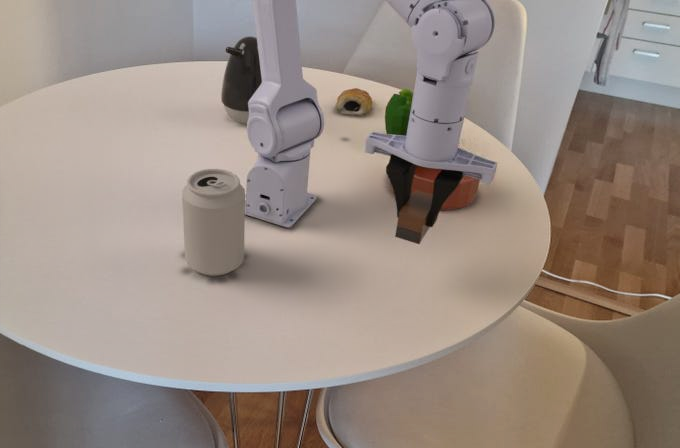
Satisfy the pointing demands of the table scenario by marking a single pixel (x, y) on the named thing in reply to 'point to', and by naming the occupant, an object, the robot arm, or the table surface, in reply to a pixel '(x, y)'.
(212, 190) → the can
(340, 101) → the pastry
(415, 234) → the eraser
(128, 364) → the table surface
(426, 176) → the bowl
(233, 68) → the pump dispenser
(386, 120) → the bell pepper
